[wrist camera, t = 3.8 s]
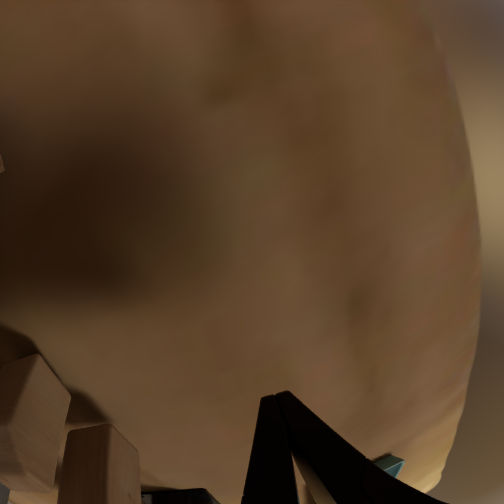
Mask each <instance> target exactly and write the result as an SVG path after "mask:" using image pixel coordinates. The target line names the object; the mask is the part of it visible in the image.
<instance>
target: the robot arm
mask: <svg viewBox="0 0 504 504" xmlns="http://www.w3.org/2000/svg"><path fill="white" fill-rule="evenodd" d="M291 453H292V454H291ZM292 456H293V458H294V460H295V462H296V465H297V467H298V469H299V471H300V473H301V475H302V477H303V479H304V481H305V483H306V485H307V487H308V489H309V491H310V493H311V494H312V496H313V498H314V500H315V502H316V504H449V503H445V502H442V501H440V500H437V499H435V498H433V497H431V496H429V495H426V494H425V493H423V492H421V491H419V490H417V489H415V488H413V487H411V486H409V485H407V484H405V483H403V482H401V481H400V480H398V479H396V478H395V477H393V476H391V475H390V474H388V473H387V472H385V471H384V470H383V469H381V468H380V467H378V466H377V465H376V464H374V463H373V462H372V461H371V460H369V459H368V458H366V457H365V456H364V455H363V454H362V453H360V452H359V451H358V450H357V449H355V448H354V447H353V446H352V445H351V444H349V443H348V442H347V441H346V440H345V439H343V438H342V437H341V436H340V435H339V434H337V433H336V432H335V431H334V430H333V429H332V428H330V427H329V426H328V425H327V424H326V423H325V422H323V421H322V420H321V419H320V418H319V417H318V416H317V415H315V414H314V413H313V412H312V411H311V410H310V409H309V408H308V407H307V406H305V405H304V404H303V403H302V402H301V401H300V400H299V399H298V398H297V397H295V396H294V395H293V394H292V393H291V392H290V391H288V390H286V391H283V392H279V393H276V395H273V394H272V395H268V396H264V397H262V398H261V400H260V406H259V411H258V417H257V423H256V428H255V434H254V439H253V445H252V450H251V455H250V461H249V466H248V471H247V476H246V481H245V486H244V491H243V496H242V500H241V504H300V503H299V497H298V490H297V484H296V478H295V472H294V465H293V460H292ZM141 500H142V501H144V502H145V503H147V504H220V503H219V502H218V501H217V500H216V499H215V498H214V497H213V496H212V495H211V494H210V493H209V492H208V491H207V490H206V489H204V488H197V489H187V490H175V491H159V492H141Z"/></svg>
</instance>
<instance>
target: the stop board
mask: <svg viewBox="0 0 504 504" xmlns="http://www.w3.org/2000/svg"><path fill="white" fill-rule="evenodd" d="M9 493H10V489H8V488H7V487H6V486H4V485H3V484H2V483H0V504H7V502H8V497H9Z"/></svg>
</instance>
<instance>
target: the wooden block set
mask: <svg viewBox="0 0 504 504" xmlns="http://www.w3.org/2000/svg"><path fill="white" fill-rule="evenodd" d="M4 170H5V168H4V165H3V161H2V157H1V153H0V174H1V173H2V172H3V171H4ZM70 401H71V395H70V393H69V392H68V391H67V389H66V388H65V387H64V386H63V384H62V383H61V382H60V381H59V379H58V378H57V377H56V375H55V374H54V373H53V372H52V370H51V369H50V368H49V366H48V365H47V363H46V362H45V361H44V359H43V358H42V357H41V355H39V354H33V355H30V356H27V357H24V358H21V359H17V360H14V361H11V362H8V363H5V364H3V365H2V367H1V369H0V483H2V484H3V485H4V486H6V487H7V488H8V489H10V490H13V491H22V492H33V493H51V492H52V491H53V485H54V478H55V472H56V466H57V460H58V454H59V449H60V444H61V439H62V434H63V430H64V425H65V421H66V417H67V413H68V409H69V405H70ZM57 504H141V489H140V465H139V452H138V450H137V449H136V448H135V447H134V446H133V445H132V444H131V443H129V442H128V441H127V440H126V439H125V438H124V437H123V436H122V435H121V434H120V433H119V432H118V431H117V429H116V428H115V427H114V426H113V425H111V424H103V425H98V426H92V427H87V428H81V429H75V430H71V431H69V433H68V435H67V441H66V446H65V451H64V457H63V463H62V470H61V476H60V484H59V492H58V501H57Z"/></svg>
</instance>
